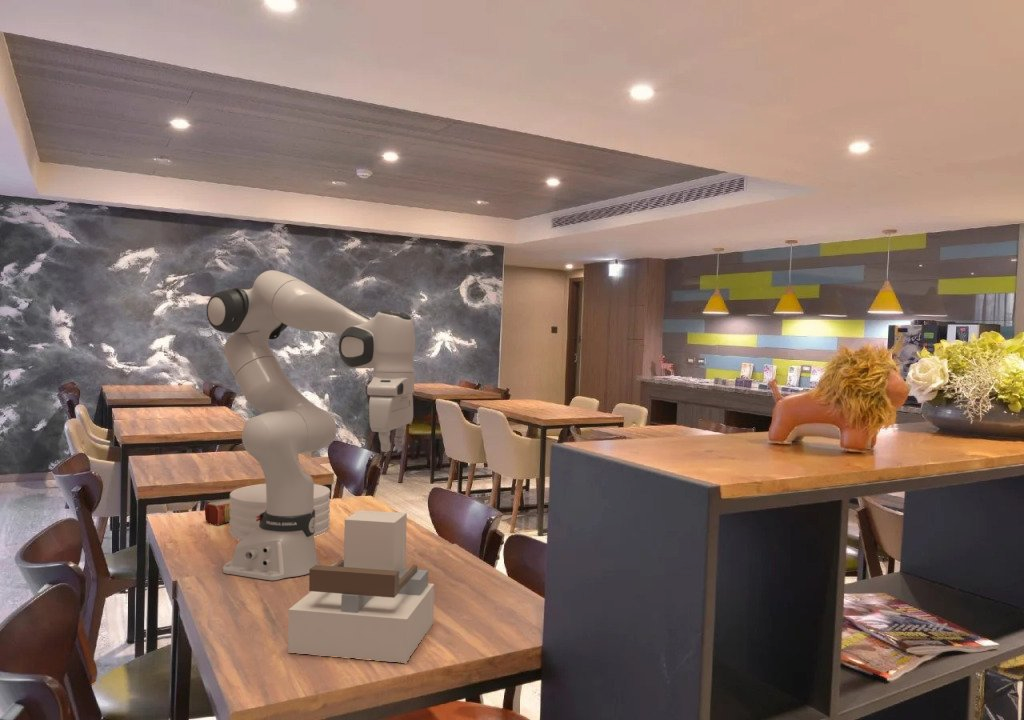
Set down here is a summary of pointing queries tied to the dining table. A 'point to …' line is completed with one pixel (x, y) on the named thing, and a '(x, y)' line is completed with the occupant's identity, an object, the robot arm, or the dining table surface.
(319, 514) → the plate stack
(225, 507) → the snack package
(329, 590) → the glasses frame
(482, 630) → the dining table surface
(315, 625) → the pillar on square base
